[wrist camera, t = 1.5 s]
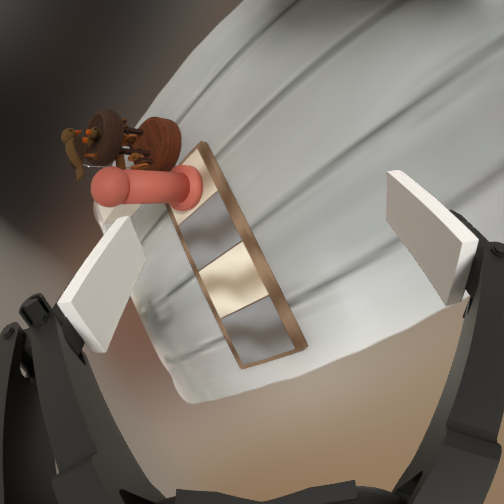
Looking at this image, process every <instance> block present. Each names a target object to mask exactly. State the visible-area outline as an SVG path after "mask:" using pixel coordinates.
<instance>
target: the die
mask: <svg viewBox="0 0 504 504" xmlns="http://www.w3.org/2000/svg"><path fill="white" fill-rule="evenodd" d="M98 206H99V209H100V213H101V216H102V220H103V223H113V222H115V221H116V219H117V218H121V217H125V216H130V218H131V217H132V216H133V215H134V213H135V212H136V211H137V210H138V208H139V207H140V206H141V204H120V205H118V206H115V207H104V206H101V205H99V204H98Z"/></svg>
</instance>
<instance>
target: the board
mask: <svg viewBox="0 0 504 504" xmlns="http://www.w3.org/2000/svg"><path fill="white" fill-rule="evenodd" d="M179 165H189V166H193V167H195V168H196V169H197V170H198V171H199V173H200V174H201V177H202V181H203V193H202V197H201V199H200V201H199V203H198V204H197V206H196V207H195V208H193V209H191V210H187V211H178V210H175V209H173V208H172V207H171V206H170V205H169V203H165V204H166V207H167V209H168V212H169V214H170V217H171V219H172V221H173V224H174V226H175V229H176V231H177V233H178V236H179V238H180V240H181V243H182V245H183V247H184V250H185V252H186V254H187V257H188V259H189V261H190V263H191V266H192V268H193V270H194V272H195V275H196V277H197V279H198V281H199V284H200V286H201V288H202V290H203V292H204V294H205V297H206V299H207V301H208V303H209V305H210V307H211V309H212V312H213V314H214V316H215V318H216V320H217V322H218V324H219V326H220V328H221V330H222V332H223V334H224V336H225V338H226V341H227V343H228V345H229V347H230V349H231V351H232V353H233V355H234V357H235V359H236V360H237V362H238V364H239V366H240V368H241V369H245V368H248V367H252V366H255V365H259V364H262V363H265V362H269V361H272V360H275V359H278V358H282V357H285V356H288V355H291V354H294V353H297V352H300V351H303V350H305V349H306V348H307V347H308V344H307V342H306V340H305V338H304V336H303V334H302V332H301V330H300V327H299V325H298V323H297V321H296V319H295V317H294V315H293V313H292V311H291V309H290V307H289V305H288V303H287V301H286V299H285V297H284V295H283V293H282V291H281V289H280V287H279V285H278V283H277V281H276V279H275V277H274V275H273V273H272V271H271V269H270V267H269V265H268V263H267V261H266V259H265V257H264V255H263V253H262V251H261V249H260V247H259V245H258V243H257V241H256V239H255V237H254V235H253V233H252V231H251V229H250V227H249V225H248V223H247V221H246V219H245V217H244V215H243V213H242V211H241V209H240V207H239V205H238V203H237V201H236V199H235V197H234V195H233V193H232V191H231V189H230V187H229V185H228V183H227V181H226V179H225V177H224V175H223V173H222V171H221V169H220V167H219V165H218V163H217V161H216V159H215V157H214V155H213V153H212V151H211V150H210V148H209V146H208V144H207V143H206V142H200V143H199V144H198V145H197V146H196V147H195V148H194V149H193V150H192V151H191V152H190V153H189V154H188V155H187V156H186V157H185V158H184V159H183V161H182V162H181V163H180V164H179Z"/></svg>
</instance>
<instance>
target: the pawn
mask: <svg viewBox="0 0 504 504" xmlns="http://www.w3.org/2000/svg"><path fill="white" fill-rule="evenodd" d="M91 193H92V196H93V198H94V200H95V201H96V202H97V203H98V204H99V205H101V206H104V207H115V206H118V205H120V204H151V203H169V205H170V206H171V207H172V208H173V209H175V210H178V211H187V210H191V209H193V208H195V207H196V206H197V204H198V203H199V201H200V199H201V197H202V193H203V181H202V177H201V174H200V173H199V171H198V170H197V169H196V168H195V167H193V166H189V165H178V166H176V167H174V168H173V169H172V170H171V171H170V172H165V171H150V170H130V169H123V170H122V169H120V168H118V167H113V166H109V167H105V168H103V169H101V170H100V171H98V172H97V173H96V174H95V176H94V177H93V180H92V183H91Z"/></svg>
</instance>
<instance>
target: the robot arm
mask: <svg viewBox="0 0 504 504" xmlns="http://www.w3.org/2000/svg"><path fill="white" fill-rule="evenodd" d="M386 221H387V222H388V224H389V225H390V226H391V227H392V229H393V230H394V231H395V233H396V234H397V235H398V237H399V238H400V239H401V241H402V242H403V243H404V245H405V246H406V248H407V249H408V250H409V252H410V253H411V254H412V256H413V257H414V259H415V260H416V262H417V263H418V264H419V266H420V267H421V269H422V270H423V272H424V273H425V275H426V276H427V278H428V279H429V281H430V282H431V284H432V285H433V287H434V288H435V290H436V291H437V293H438V295H439V296H440V298H441V299H442V301H443V303H444V304H445V306H448V305H452V304H455V303H458V302H461V301H462V298H463V295H464V292H465V289H466V290H467V292H468V293H469V295H470V298H469V301H468V304H467V307H466V309H465V312H464V315H463V318H464V323H463V327H462V331H461V335H460V339H459V343H458V347H457V350H456V353H455V357H454V360H453V363H452V366H451V369H450V372H449V375H448V379H447V382H446V385H445V387H444V390H443V393H442V395H441V398H440V400H439V403H438V406H437V408H436V411H435V413H434V415H433V418H432V420H431V423H430V425H429V427H428V429H427V432H426V434H425V436H424V438H423V440H422V442H421V444H420V446H419V449H418V450H417V452H416V454H415V456H414V458H413V460H412V461H411V463H410V465H409V466H408V467H407V469H406V470H405V472H404V473H403V475H402V476H401V478H400V479H399V481H398V482H397V484H396V486H395V487H394V489H393V491H392V492H389V491H386V490H383V489H379V488H374V487H366V486H356V484H355V480H351V481H346V482H341V483H336V484H330V485H324V486H317V487H310V488H307V489H304V490H301V491H298V492H295V493H293V494H289V495H286V496H283V497H279V498H276V499H273V500H269V501H264V502H259V501H254V500H249V499H244V498H239V497H235V496H231V495H226V494H223V493H219V492H208V491H192V490H181V489H176V496H174V497H170V498H165V497H164V495H162V493H161V492H160V491H159V490H157V489H156V488H155V487H154V486H153V485H152V484H151V483H150V482H149V480H148V479H147V477H146V476H145V474H144V473H143V471H142V469H141V468H140V466H139V464H138V463H137V461H136V459H135V458H134V456H133V454H132V453H131V451H130V449H129V447H128V445H127V444H126V442H125V440H124V438H123V436H122V434H121V432H120V431H119V429H118V427H117V425H116V423H115V421H114V419H113V417H112V415H111V413H110V410H109V408H108V406H107V404H106V402H105V400H104V398H103V395H102V393H101V391H100V389H99V386H98V384H97V382H96V379H95V377H94V374H93V372H92V369H91V367H90V364H89V361H88V359H87V356H86V354H85V353H84V352H83V351H82V347H83V346H84V343H85V344H86V345H87V347H88V348H89V349H90V350H91V351H92V352H95V353H96V352H98V353H99V352H100V353H101V352H102V353H105V352H106V351H107V349H108V346H109V344H110V341H111V339H112V337H113V334H114V332H115V329H116V327H117V324H118V322H119V319H120V317H121V315H122V312H123V310H124V308H125V306H126V303H127V301H128V299H129V297H130V294H131V292H132V290H133V288H134V286H135V283H136V281H137V279H138V277H139V275H140V273H141V271H142V269H143V266H144V264H145V262H146V260H147V257H146V255H145V253H144V250H143V248H142V246H141V243H140V241H139V238H138V236H137V233H136V231H135V229H134V226H133V224H132V221H131V218H130V216H125V217H121V218H117V219H116V221H115V222H114V223H113V224H112V226H111V227H110V228H109V229H108V231H107V232H106V233H105V235H104V236H103V237H102V239H101V240H100V241H99V243H98V244H97V245H96V247H95V248H94V249H93V251H92V252H91V254H90V255H89V256H88V258H87V259H86V261H85V262H84V263H83V265H82V266H81V268H80V269H79V270H78V272H77V273H76V275H75V276H74V277H73V278H72V279H71V281H70V282H69V284H68V286H67V287H66V288H65V290H64V292H63V293H62V294H61V296H60V297H59V299H58V300H57V302H56V304H55V305H54V307H53V308H51V307H50V305H49V304H48V302H47V301H46V299H45V298H44V296H43V295H42V294H41V293H38V294H34V295H32V296H31V297H29V298H28V299H27V300H25V302H24V303H23V304H22V305H21V307H20V309H19V313H20V315H21V316H22V318H23V319H24V320H25V322H26V323H27V324H28V326H29V327H30V328H28V329H25V330H23V329H22V328H21V327H20V326H19V324H18V323H17V322H13V323H11V324H9V325H7V326H6V327H5V328H4V329H3V331H2V332H1V334H0V504H483V502H484V500H485V498H486V495H487V493H488V491H489V488H490V486H491V483H492V480H493V478H494V475H495V473H496V470H497V467H498V464H499V461H500V457H501V452H502V450H501V445H500V444H499V443H497V436H498V432H499V428H500V424H501V421H502V417H503V412H504V244H502V243H500V242H489V241H488V240H487V239H486V238H485V237H484V236H483V235H482V234H481V233H480V232H479V231H478V230H477V229H476V228H473V226H472V225H471V224H470V223H469V222H468V221H467V220H466V219H465V218H464V217H463V216H462V215H460V214H458V213H456V212H454V211H452V210H448V209H446V208H445V207H444V206H443V205H442V204H441V203H440V202H439V201H437V200H436V199H435V198H434V197H433V196H432V195H430V194H429V193H428V192H427V191H426V190H424V189H423V188H422V187H421V186H420V185H418V184H417V183H416V182H415V181H413V180H412V179H411V178H410V177H408V176H407V175H406V174H405V173H403V172H402V171H401V170H396V171H387V212H386ZM20 367H21V368H22V369H23V370H24V371H25V372H26V377H24V376H23V375H22V374H21V370H20ZM54 457H55V458H54ZM55 460H56V463H57V466H58V470H59V474H57V475H56V467H55Z"/></svg>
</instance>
